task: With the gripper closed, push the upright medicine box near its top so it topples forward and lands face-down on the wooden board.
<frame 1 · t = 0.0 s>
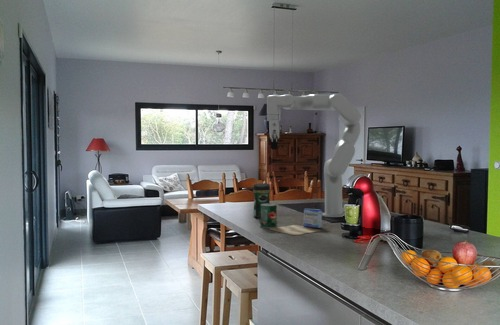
hand: (274, 149, 250), 37 cm above the countertop, tool pointing down, fingers open, 9 cm apart
canned tomato: (268, 227, 223), on the countertop
coffee jar: (262, 217, 252), on the countertop
medicine box: (312, 227, 219), on the countertop, touching wooden board
wooden board: (294, 230, 213), on the countertop
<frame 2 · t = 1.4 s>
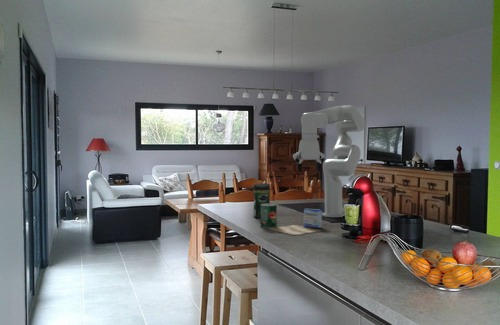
hand: (309, 171, 229), 26 cm above the countertop, tool pointing down, fingers open, 9 cm apart
nothing on the countertop moved.
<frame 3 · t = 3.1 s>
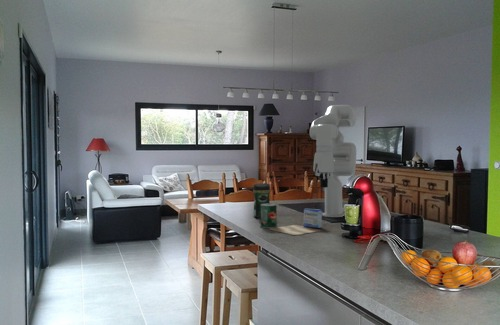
hand: (324, 187, 222), 19 cm above the countertop, tool pointing down, fingers closed
nothing on the countertop moved.
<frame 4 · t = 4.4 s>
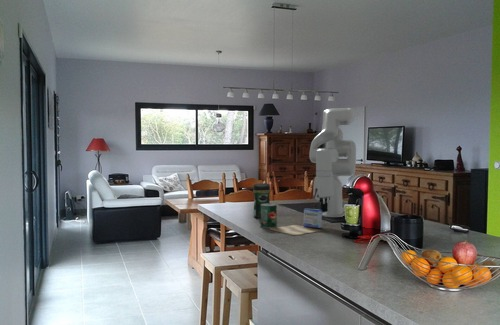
hand: (324, 211, 223), 7 cm above the countertop, tool pointing down, fingers closed
nothing on the countertop moved.
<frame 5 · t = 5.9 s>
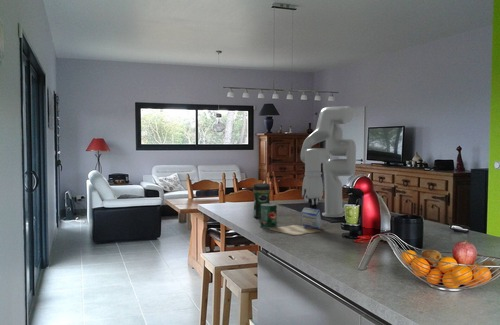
hand: (313, 212, 219), 7 cm above the countertop, tool pointing down, fingers closed
medicine box: (312, 225, 219), point 1 cm above the countertop, touching wooden board
everything else where it was.
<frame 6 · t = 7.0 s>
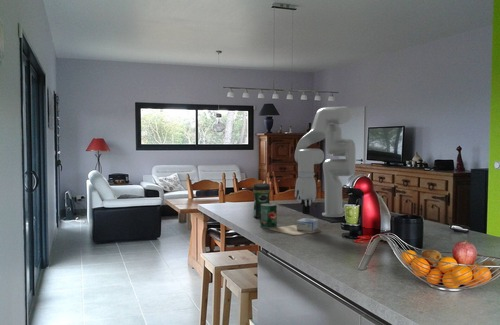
hand: (306, 213, 217), 7 cm above the countertop, tool pointing down, fingers closed
medicine box: (310, 222, 217), point 3 cm above the countertop, touching wooden board
everything else where it was.
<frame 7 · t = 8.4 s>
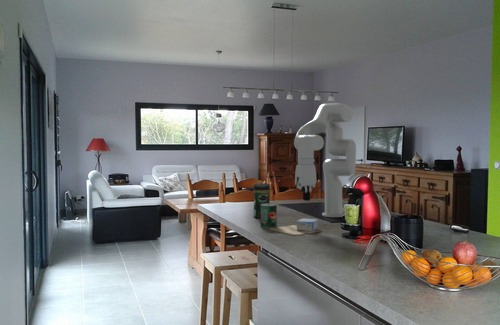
hand: (306, 200, 217), 14 cm above the countertop, tool pointing down, fingers closed
nothing on the countertop moved.
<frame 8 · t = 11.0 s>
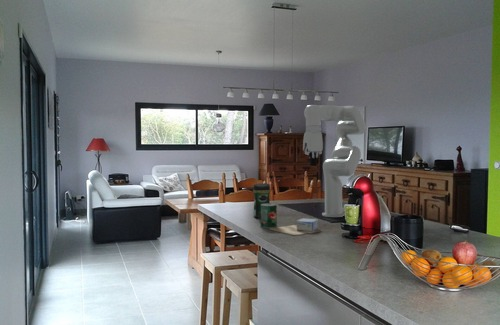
hand: (313, 165, 232), 29 cm above the countertop, tool pointing down, fingers closed
nothing on the countertop moved.
at the end: medicine box tilted 90°; medicine box inside the target area (6.7 cm from its centre), point 2.6 cm above the countertop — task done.
